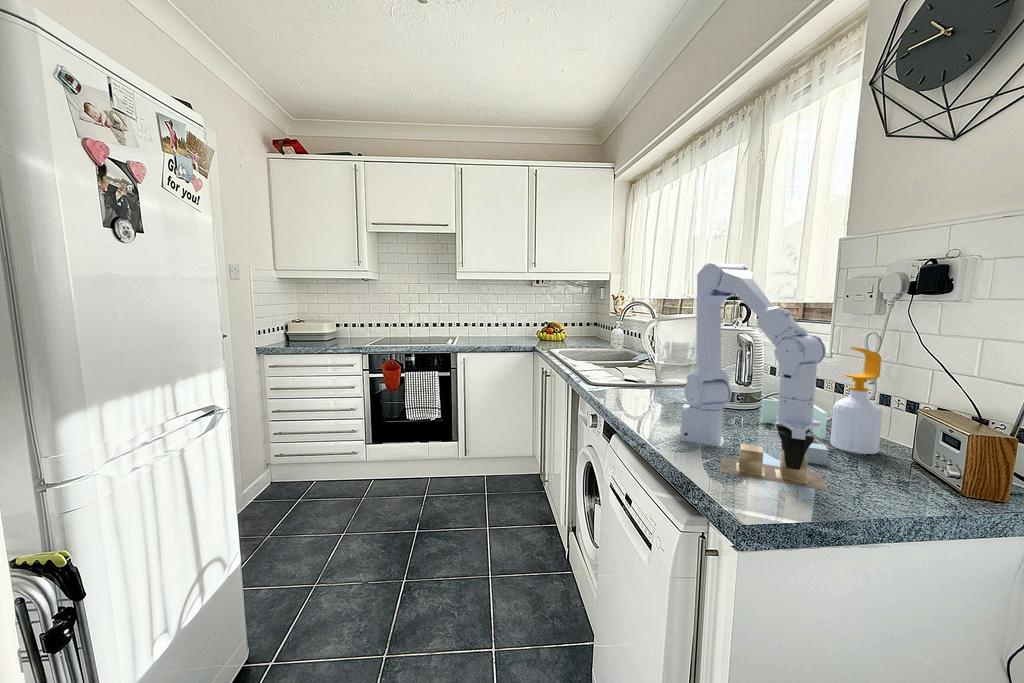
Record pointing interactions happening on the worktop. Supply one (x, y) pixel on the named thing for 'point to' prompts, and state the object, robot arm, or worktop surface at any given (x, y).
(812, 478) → the board
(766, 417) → the right angle wall
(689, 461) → the worktop surface
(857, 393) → the soap bottle
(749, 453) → the pillar
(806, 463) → the tan wooden cube
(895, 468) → the worktop surface
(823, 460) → the slate grey cube
